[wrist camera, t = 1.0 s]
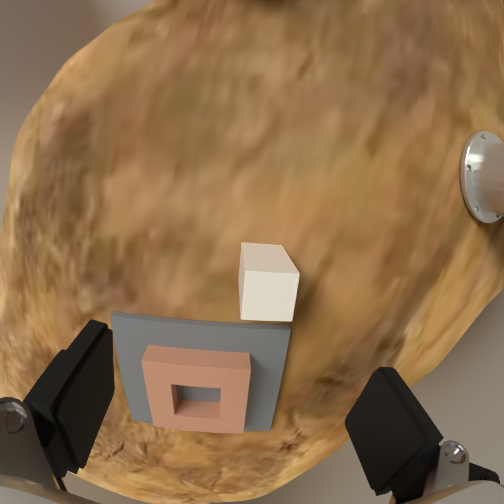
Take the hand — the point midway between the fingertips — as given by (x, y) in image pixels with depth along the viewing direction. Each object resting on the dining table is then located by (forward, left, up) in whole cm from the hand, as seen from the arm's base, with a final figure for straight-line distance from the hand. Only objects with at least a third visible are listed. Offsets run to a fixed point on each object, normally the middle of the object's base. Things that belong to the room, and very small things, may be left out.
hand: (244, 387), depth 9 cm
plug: (-3, +2, -20) cm, 20 cm away
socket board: (+3, +18, -20) cm, 27 cm away
